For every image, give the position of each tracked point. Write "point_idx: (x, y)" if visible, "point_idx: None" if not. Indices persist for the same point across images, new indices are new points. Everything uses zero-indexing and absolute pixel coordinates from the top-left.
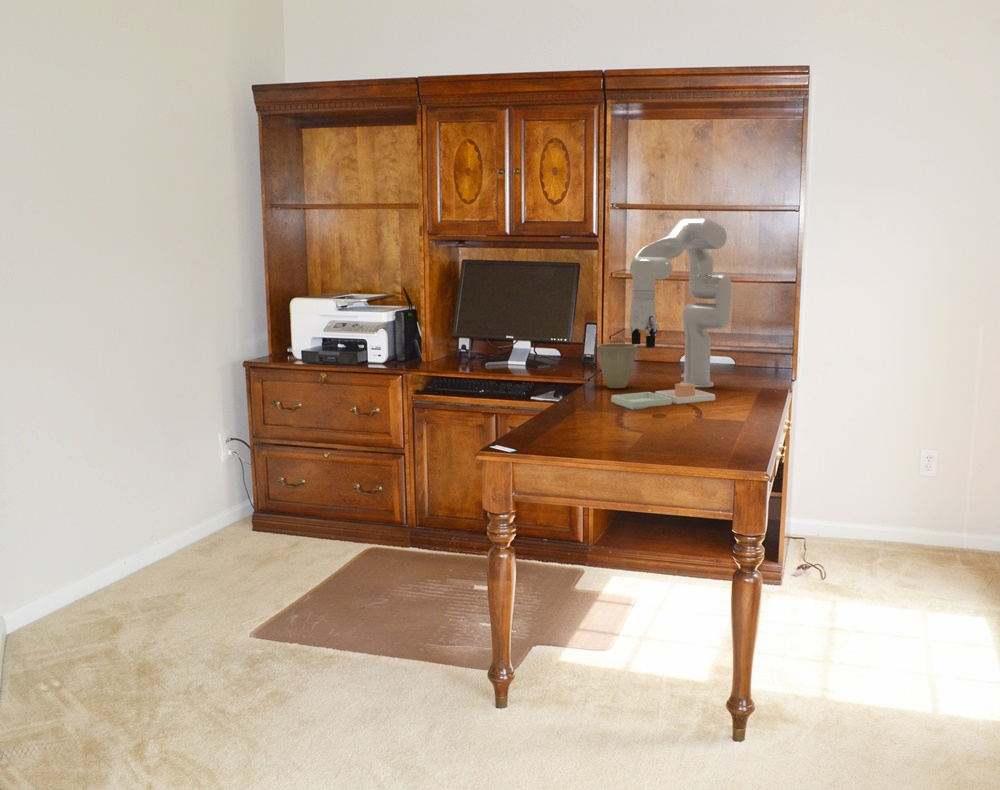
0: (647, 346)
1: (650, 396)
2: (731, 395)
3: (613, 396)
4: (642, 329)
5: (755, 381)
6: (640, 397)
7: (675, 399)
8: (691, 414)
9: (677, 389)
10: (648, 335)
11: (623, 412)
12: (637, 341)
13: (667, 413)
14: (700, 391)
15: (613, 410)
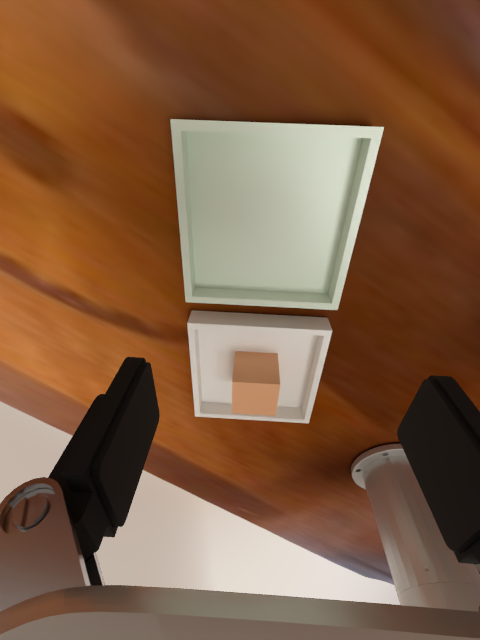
0: (126, 368)
1: (313, 296)
2: (250, 455)
3: (362, 126)
4: (52, 595)
5: (345, 533)
6: (335, 267)
7: (203, 319)
8: (44, 266)
9: (264, 371)
10: (28, 486)
11: (136, 32)
12: (418, 434)
13: (74, 208)
14: (256, 416)
15: (199, 6)
